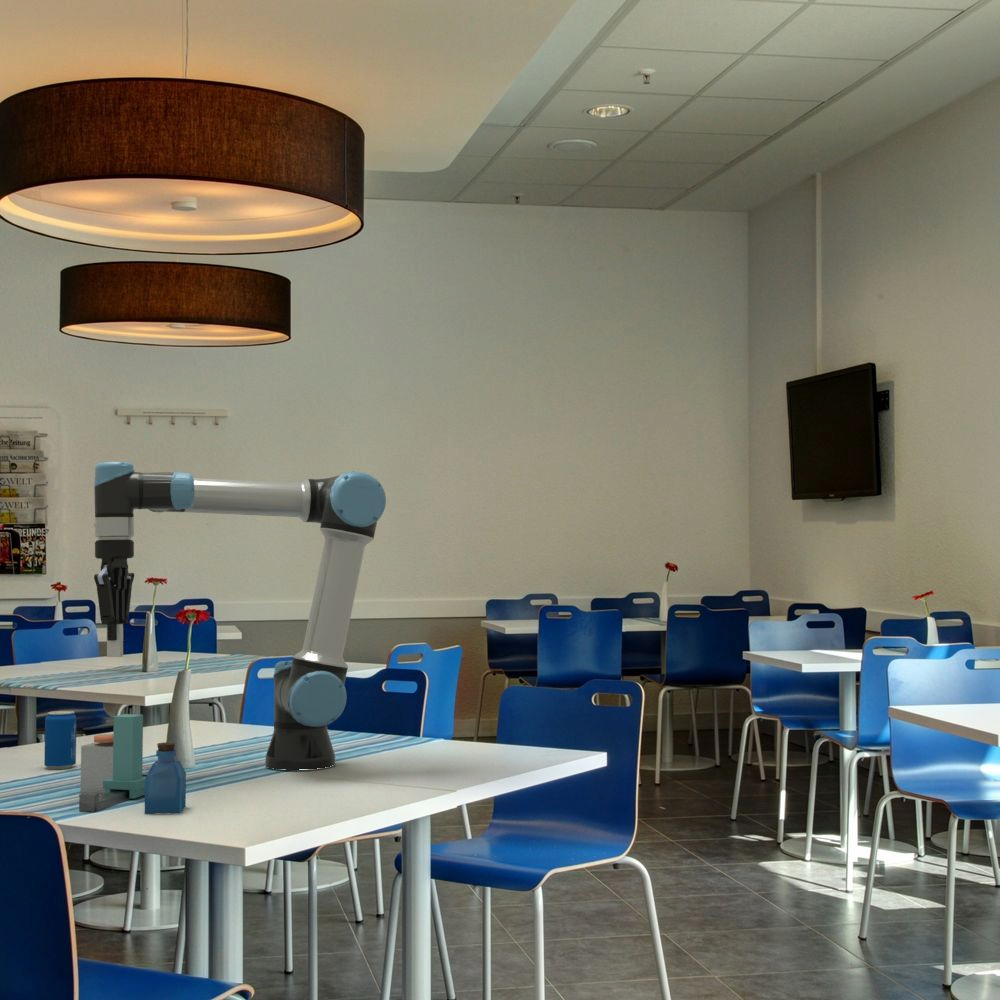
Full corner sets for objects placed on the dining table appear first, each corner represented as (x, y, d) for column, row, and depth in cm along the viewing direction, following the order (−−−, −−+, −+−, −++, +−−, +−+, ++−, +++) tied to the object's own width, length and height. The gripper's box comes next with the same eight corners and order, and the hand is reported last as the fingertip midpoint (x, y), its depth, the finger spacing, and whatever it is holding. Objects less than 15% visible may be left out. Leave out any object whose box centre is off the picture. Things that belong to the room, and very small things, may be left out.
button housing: (131, 787, 258) (131, 742, 259) (113, 794, 251) (114, 747, 252) (98, 786, 260) (99, 741, 260) (80, 792, 253) (81, 746, 253)
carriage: (151, 793, 251) (152, 714, 251) (136, 798, 245) (137, 717, 246) (118, 791, 252) (119, 713, 253) (102, 797, 246) (103, 717, 247)
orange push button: (123, 765, 258) (124, 734, 258) (111, 769, 253) (111, 737, 253) (101, 764, 259) (101, 733, 259) (88, 768, 254) (89, 737, 254)
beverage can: (65, 770, 279) (66, 714, 280) (38, 769, 281) (39, 713, 281) (81, 766, 286) (82, 711, 286) (54, 765, 287) (55, 710, 288)
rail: (156, 788, 257) (156, 773, 257) (94, 811, 234) (94, 795, 234) (142, 788, 258) (142, 773, 258) (79, 811, 234) (79, 794, 234)
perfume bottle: (179, 813, 232) (180, 745, 233) (144, 814, 232) (145, 746, 233) (185, 807, 239) (186, 741, 239) (151, 807, 238) (152, 741, 239)
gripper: (112, 539, 269) (112, 654, 268) (81, 539, 256) (81, 659, 255) (146, 538, 267) (146, 654, 267) (116, 538, 255) (117, 659, 254)
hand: (115, 656), depth 261 cm, fingers closed
